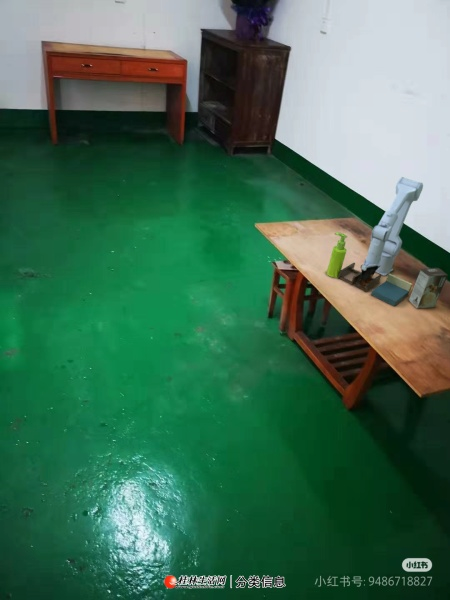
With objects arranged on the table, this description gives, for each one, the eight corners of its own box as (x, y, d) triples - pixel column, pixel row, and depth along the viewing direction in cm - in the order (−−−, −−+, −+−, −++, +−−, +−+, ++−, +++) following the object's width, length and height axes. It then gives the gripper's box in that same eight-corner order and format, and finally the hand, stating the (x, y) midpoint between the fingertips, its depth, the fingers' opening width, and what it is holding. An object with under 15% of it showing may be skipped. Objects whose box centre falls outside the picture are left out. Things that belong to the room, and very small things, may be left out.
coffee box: (425, 299, 200) (438, 267, 192) (434, 307, 195) (448, 275, 186) (408, 300, 198) (420, 268, 189) (416, 308, 193) (430, 276, 184)
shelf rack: (351, 269, 216) (353, 262, 214) (379, 282, 208) (381, 275, 206) (337, 278, 208) (339, 270, 206) (365, 292, 200) (368, 284, 198)
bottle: (363, 280, 209) (367, 266, 205) (371, 284, 207) (375, 270, 203) (358, 283, 206) (362, 269, 202) (366, 287, 204) (371, 273, 200)
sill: (385, 284, 207) (389, 273, 204) (408, 295, 202) (412, 283, 198) (370, 295, 198) (374, 283, 195) (394, 306, 192) (398, 294, 189)
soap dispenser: (328, 269, 214) (338, 230, 203) (341, 274, 211) (352, 235, 200) (322, 273, 210) (332, 233, 199) (335, 279, 207) (346, 239, 196)
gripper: (375, 260, 191) (366, 288, 198) (391, 251, 200) (381, 277, 208) (360, 254, 194) (352, 281, 202) (376, 245, 204) (368, 271, 211)
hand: (366, 279), depth 205 cm, fingers closed on bottle, 4 cm apart
